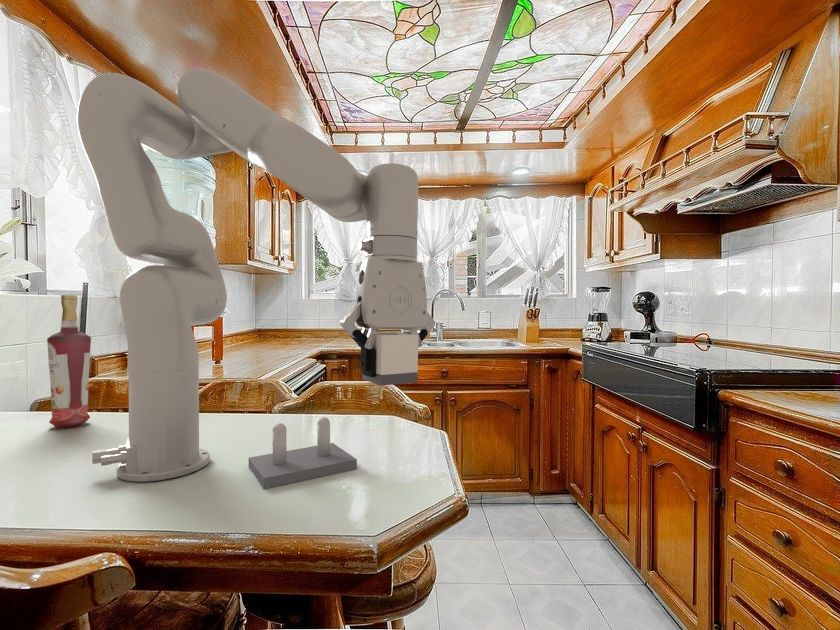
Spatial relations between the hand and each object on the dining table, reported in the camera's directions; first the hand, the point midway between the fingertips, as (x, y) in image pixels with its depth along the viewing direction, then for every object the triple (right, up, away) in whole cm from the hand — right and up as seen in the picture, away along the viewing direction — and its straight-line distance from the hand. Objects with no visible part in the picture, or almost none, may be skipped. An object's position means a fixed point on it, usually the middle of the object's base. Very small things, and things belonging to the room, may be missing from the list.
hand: (389, 373), depth 64 cm
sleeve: (0, -1, 0) cm, 1 cm away
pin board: (-14, -15, +4) cm, 21 cm away
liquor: (-71, -15, +29) cm, 78 cm away
